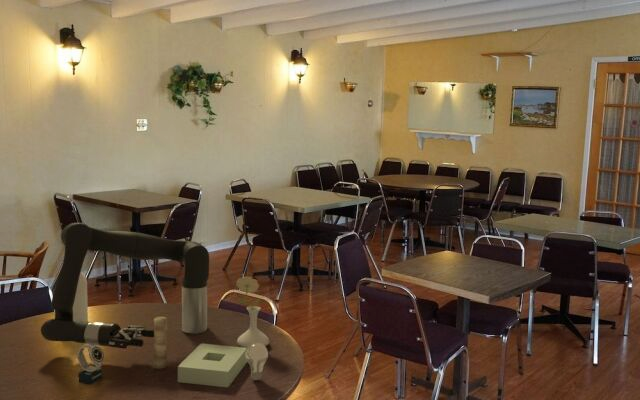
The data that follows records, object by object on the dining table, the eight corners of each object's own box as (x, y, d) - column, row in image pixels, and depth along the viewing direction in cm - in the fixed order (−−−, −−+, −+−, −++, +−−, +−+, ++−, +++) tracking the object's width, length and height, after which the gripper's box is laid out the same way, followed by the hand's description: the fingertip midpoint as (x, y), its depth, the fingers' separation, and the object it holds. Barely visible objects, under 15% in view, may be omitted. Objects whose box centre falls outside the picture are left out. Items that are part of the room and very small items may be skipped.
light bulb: (245, 375, 205) (246, 339, 203) (267, 375, 206) (268, 339, 204) (244, 385, 198) (245, 347, 196) (267, 385, 199) (268, 347, 197)
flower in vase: (274, 343, 233) (276, 275, 230) (258, 354, 223) (260, 283, 220) (243, 337, 239) (244, 271, 235) (226, 347, 229) (227, 278, 225)
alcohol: (57, 328, 242) (55, 249, 238) (74, 321, 251) (72, 245, 246) (76, 332, 239) (74, 252, 235) (93, 324, 247) (91, 247, 243)
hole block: (201, 357, 219) (201, 343, 218) (247, 362, 216) (247, 347, 215) (177, 382, 199) (177, 366, 198) (228, 387, 196) (228, 371, 196)
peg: (157, 363, 213) (157, 316, 211) (169, 364, 212) (168, 317, 210) (152, 368, 209) (151, 320, 207) (164, 369, 208) (163, 321, 206)
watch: (95, 386, 195) (94, 351, 193) (73, 381, 198) (72, 346, 196) (107, 378, 200) (107, 344, 198) (86, 374, 203) (85, 340, 201)
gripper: (90, 330, 205) (138, 334, 203) (112, 316, 219) (158, 320, 216) (91, 352, 207) (139, 357, 204) (113, 337, 220) (158, 341, 218)
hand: (148, 338), depth 210 cm, fingers open, 8 cm apart
